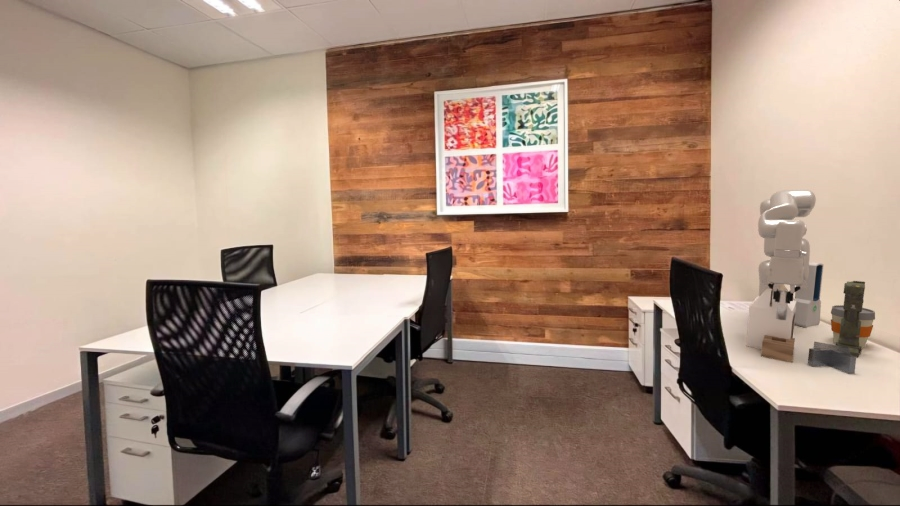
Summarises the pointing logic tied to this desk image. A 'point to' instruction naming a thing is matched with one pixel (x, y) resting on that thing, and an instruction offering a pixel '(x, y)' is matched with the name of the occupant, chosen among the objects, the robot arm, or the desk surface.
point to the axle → (782, 304)
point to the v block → (832, 357)
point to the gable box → (769, 319)
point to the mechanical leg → (852, 317)
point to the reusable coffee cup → (864, 317)
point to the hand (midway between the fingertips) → (782, 301)
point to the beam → (778, 348)
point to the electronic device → (809, 298)
